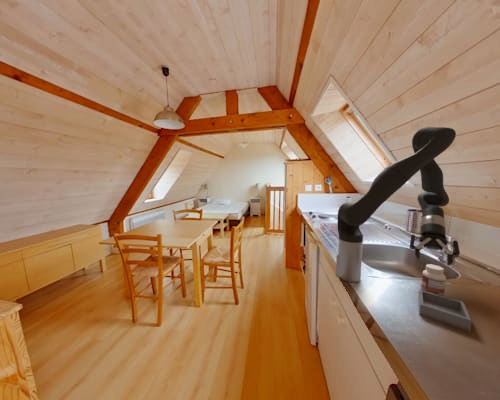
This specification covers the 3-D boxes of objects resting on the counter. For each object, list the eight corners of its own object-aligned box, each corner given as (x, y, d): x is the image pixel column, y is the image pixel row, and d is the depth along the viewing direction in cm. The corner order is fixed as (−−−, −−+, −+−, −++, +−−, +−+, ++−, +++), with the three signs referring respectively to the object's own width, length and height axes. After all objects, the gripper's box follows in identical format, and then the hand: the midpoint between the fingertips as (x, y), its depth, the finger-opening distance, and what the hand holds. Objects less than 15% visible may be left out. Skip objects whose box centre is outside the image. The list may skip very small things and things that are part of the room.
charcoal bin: (419, 314, 59) (420, 304, 58) (418, 298, 67) (418, 289, 66) (470, 332, 52) (471, 320, 51) (462, 312, 60) (463, 301, 59)
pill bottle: (420, 288, 73) (423, 261, 72) (443, 294, 69) (446, 266, 68) (420, 295, 69) (423, 267, 67) (444, 302, 64) (447, 272, 63)
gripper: (411, 220, 82) (409, 252, 75) (459, 225, 73) (462, 262, 65) (410, 229, 87) (408, 260, 79) (455, 235, 77) (457, 271, 70)
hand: (433, 261), depth 72 cm, fingers open, 8 cm apart
